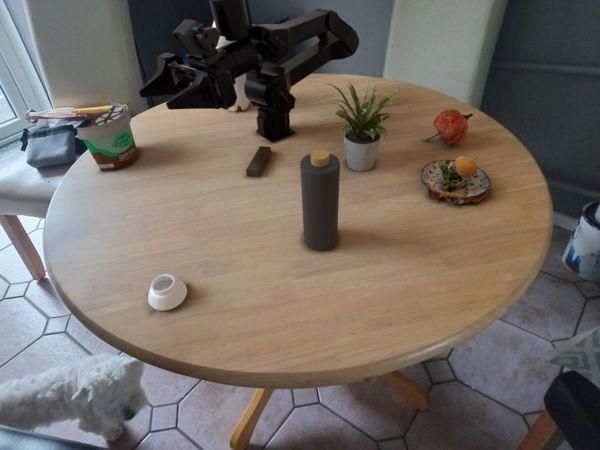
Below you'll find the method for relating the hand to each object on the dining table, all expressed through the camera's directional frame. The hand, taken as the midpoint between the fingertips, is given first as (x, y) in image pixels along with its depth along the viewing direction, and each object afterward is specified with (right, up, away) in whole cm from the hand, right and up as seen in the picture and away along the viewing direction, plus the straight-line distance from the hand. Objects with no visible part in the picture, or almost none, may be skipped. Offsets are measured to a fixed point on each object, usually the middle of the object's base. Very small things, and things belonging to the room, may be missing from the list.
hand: (153, 100), depth 60 cm
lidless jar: (+6, -30, -9) cm, 32 cm away
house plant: (+34, -8, +14) cm, 38 cm away
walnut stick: (+16, -8, +15) cm, 23 cm away
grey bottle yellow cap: (+27, -22, -2) cm, 35 cm away
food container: (-13, -7, +18) cm, 23 cm away
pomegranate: (+54, -3, +18) cm, 57 cm away
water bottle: (+8, +10, +36) cm, 38 cm away
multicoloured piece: (+51, -13, +7) cm, 53 cm away
